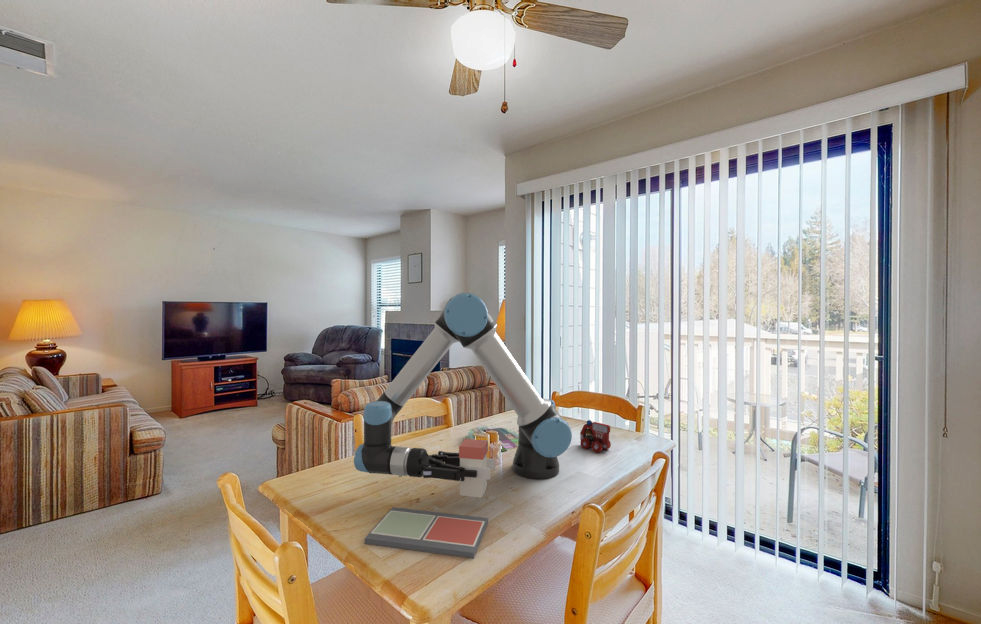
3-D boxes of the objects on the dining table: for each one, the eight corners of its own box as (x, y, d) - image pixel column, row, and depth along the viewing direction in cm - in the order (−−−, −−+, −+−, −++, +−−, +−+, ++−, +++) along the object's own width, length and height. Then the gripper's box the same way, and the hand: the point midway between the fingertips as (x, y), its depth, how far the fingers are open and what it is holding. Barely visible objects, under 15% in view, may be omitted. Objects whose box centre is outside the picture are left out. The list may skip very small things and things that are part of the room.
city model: (496, 464, 149) (498, 448, 148) (450, 441, 164) (452, 426, 163) (537, 448, 168) (539, 433, 167) (492, 429, 183) (494, 415, 182)
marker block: (487, 487, 116) (487, 440, 116) (482, 498, 110) (482, 448, 110) (464, 485, 118) (465, 438, 117) (458, 495, 111) (459, 446, 111)
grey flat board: (487, 522, 105) (488, 517, 104) (473, 558, 90) (473, 551, 90) (392, 511, 109) (392, 506, 109) (364, 543, 95) (364, 537, 95)
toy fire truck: (586, 442, 167) (587, 416, 167) (614, 451, 158) (615, 423, 158) (575, 446, 163) (576, 419, 163) (603, 455, 153) (604, 426, 153)
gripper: (422, 462, 127) (498, 469, 122) (396, 490, 108) (485, 498, 103) (422, 437, 126) (498, 443, 122) (396, 460, 108) (485, 468, 103)
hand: (492, 468), depth 113 cm, fingers closed on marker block, 6 cm apart
